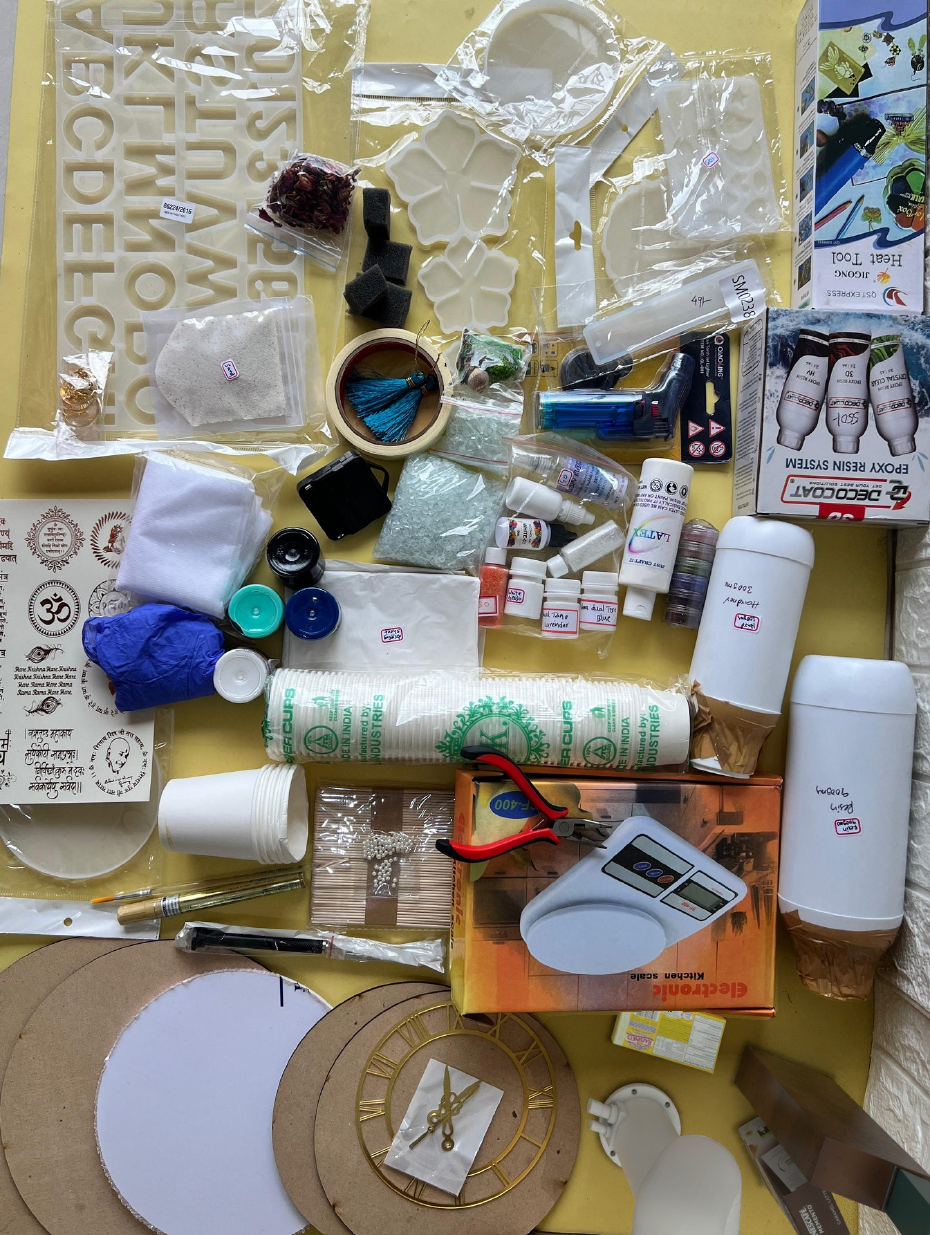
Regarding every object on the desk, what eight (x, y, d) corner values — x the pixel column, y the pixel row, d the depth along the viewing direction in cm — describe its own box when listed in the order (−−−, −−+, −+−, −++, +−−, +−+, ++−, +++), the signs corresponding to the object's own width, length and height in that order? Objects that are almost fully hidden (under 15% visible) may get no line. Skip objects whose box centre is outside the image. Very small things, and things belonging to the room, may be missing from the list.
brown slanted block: (733, 1082, 123) (811, 1185, 97) (746, 1045, 123) (826, 1137, 98) (820, 1116, 123) (919, 1227, 98) (832, 1078, 123) (934, 1179, 98)
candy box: (708, 1068, 123) (723, 1016, 123) (713, 1075, 121) (728, 1022, 121) (609, 1037, 123) (625, 985, 123) (612, 1044, 121) (628, 991, 121)
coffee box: (735, 1128, 122) (780, 1194, 106) (771, 1108, 122) (821, 1171, 106) (762, 1183, 121) (812, 1259, 105) (798, 1163, 122) (853, 1235, 106)
